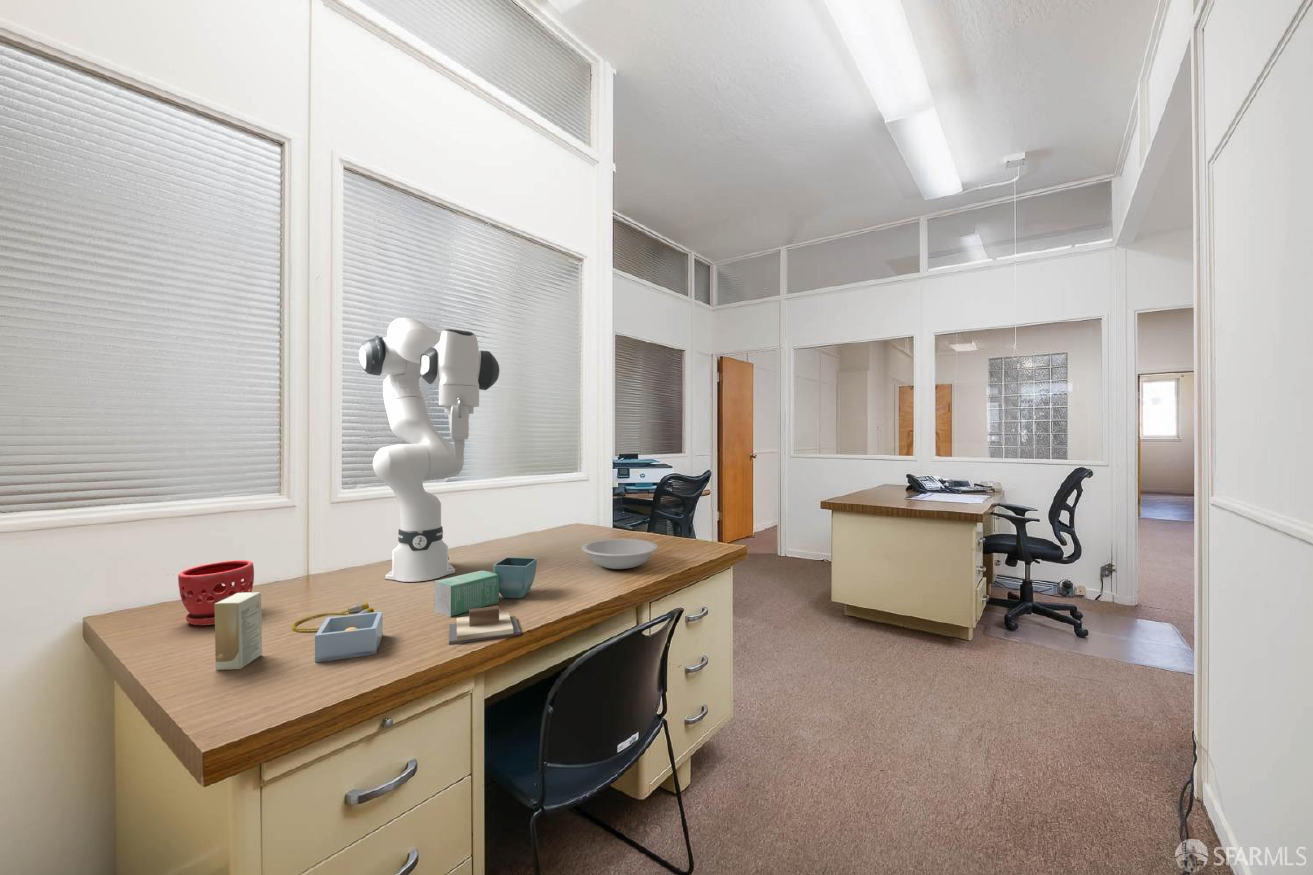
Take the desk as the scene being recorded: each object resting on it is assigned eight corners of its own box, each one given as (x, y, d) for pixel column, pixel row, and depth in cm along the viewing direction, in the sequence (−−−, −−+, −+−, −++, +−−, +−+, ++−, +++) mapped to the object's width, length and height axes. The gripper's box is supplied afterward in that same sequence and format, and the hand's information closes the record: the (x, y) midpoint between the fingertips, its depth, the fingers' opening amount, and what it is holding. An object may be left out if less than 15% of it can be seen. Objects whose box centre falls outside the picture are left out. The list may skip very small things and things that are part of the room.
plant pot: (235, 606, 127) (235, 557, 127) (266, 614, 121) (265, 563, 121) (166, 623, 115) (166, 569, 115) (197, 633, 109) (196, 577, 109)
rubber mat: (449, 626, 114) (449, 624, 114) (515, 618, 119) (515, 615, 119) (449, 644, 104) (449, 641, 104) (520, 634, 110) (520, 631, 110)
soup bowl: (627, 582, 148) (627, 558, 148) (565, 569, 161) (565, 548, 161) (672, 564, 168) (672, 543, 168) (613, 554, 181) (613, 535, 181)
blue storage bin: (327, 642, 105) (327, 617, 105) (382, 635, 109) (382, 611, 109) (314, 662, 96) (314, 635, 96) (376, 654, 100) (375, 628, 100)
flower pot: (537, 591, 139) (537, 557, 139) (526, 601, 131) (526, 566, 131) (506, 590, 140) (506, 556, 140) (492, 600, 132) (492, 565, 131)
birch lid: (456, 622, 115) (456, 604, 115) (508, 615, 119) (508, 598, 119) (457, 640, 105) (456, 621, 105) (513, 633, 109) (513, 614, 109)
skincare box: (239, 655, 99) (238, 591, 99) (263, 654, 99) (262, 591, 99) (213, 671, 93) (212, 602, 92) (239, 670, 93) (238, 602, 93)
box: (500, 602, 130) (499, 572, 130) (451, 618, 119) (450, 585, 119) (482, 597, 135) (482, 568, 135) (433, 611, 124) (433, 580, 124)
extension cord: (375, 625, 116) (375, 616, 116) (289, 639, 108) (288, 629, 108) (373, 608, 126) (373, 600, 126) (295, 620, 119) (295, 611, 119)
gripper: (475, 397, 113) (475, 461, 113) (472, 401, 132) (471, 455, 132) (443, 396, 110) (443, 461, 111) (445, 400, 129) (444, 455, 130)
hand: (459, 458), depth 121 cm, fingers open, 8 cm apart
